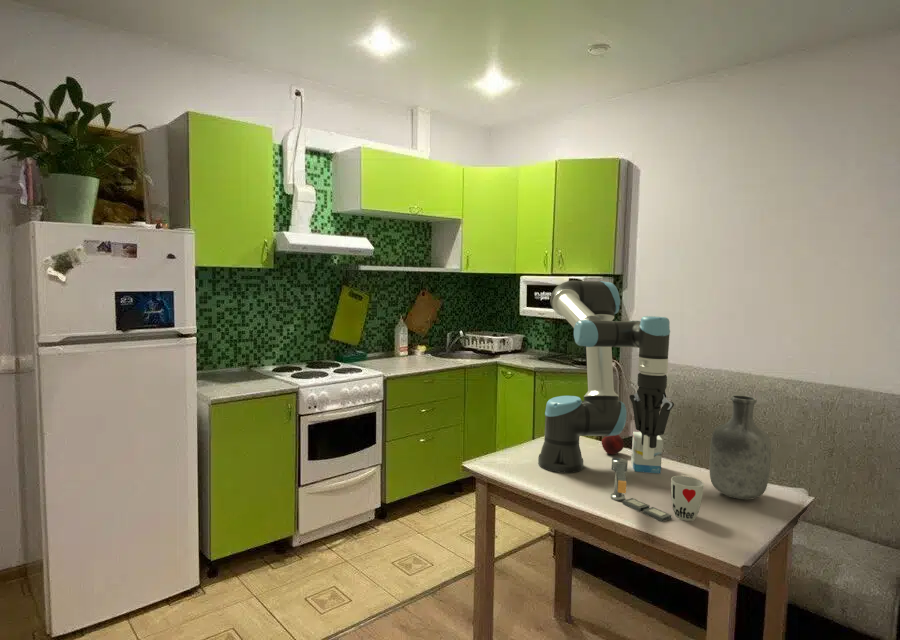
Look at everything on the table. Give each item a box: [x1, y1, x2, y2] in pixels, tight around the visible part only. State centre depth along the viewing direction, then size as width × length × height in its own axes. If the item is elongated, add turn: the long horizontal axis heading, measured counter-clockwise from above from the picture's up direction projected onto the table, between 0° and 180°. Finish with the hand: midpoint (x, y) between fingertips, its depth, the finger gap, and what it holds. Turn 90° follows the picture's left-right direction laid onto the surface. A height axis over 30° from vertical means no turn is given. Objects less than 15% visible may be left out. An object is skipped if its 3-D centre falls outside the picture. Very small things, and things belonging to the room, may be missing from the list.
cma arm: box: [610, 457, 629, 494], centre depth 152 cm, size 20×4×3 cm, turn 165°
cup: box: [670, 475, 705, 522], centre depth 148 cm, size 8×8×10 cm
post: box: [610, 471, 626, 502], centre depth 160 cm, size 4×4×8 cm
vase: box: [709, 394, 772, 500], centre depth 164 cm, size 16×16×30 cm
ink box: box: [630, 431, 664, 474], centre depth 186 cm, size 8×8×12 cm
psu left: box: [622, 497, 651, 513], centre depth 155 cm, size 6×4×1 cm, turn 32°
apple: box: [601, 434, 625, 456], centre depth 201 cm, size 7×8×8 cm
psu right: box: [642, 506, 672, 522], centre depth 149 cm, size 6×4×1 cm, turn 32°
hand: (648, 458), depth 150 cm, fingers closed
